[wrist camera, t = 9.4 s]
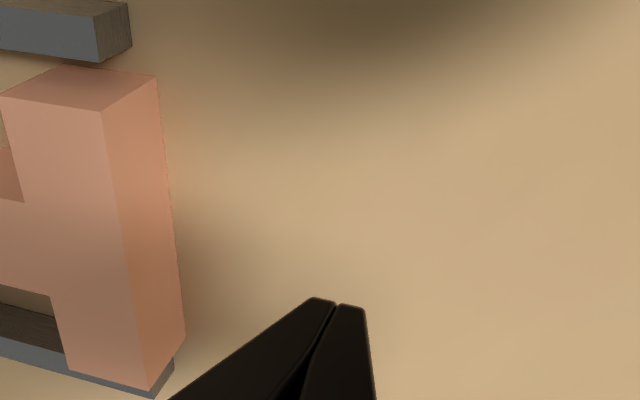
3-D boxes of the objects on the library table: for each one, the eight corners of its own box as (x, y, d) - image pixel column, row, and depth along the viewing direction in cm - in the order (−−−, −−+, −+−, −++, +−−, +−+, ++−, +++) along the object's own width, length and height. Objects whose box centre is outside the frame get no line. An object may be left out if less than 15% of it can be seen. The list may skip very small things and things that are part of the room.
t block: (156, 76, 22) (100, 112, 19) (186, 336, 29) (148, 391, 26) (-104, 40, 25) (-186, 66, 22) (-21, 285, 32) (-76, 329, 29)
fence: (126, 3, 21) (92, 17, 19) (174, 369, 30) (154, 399, 29) (-163, -31, 24) (-213, -21, 22) (-38, 312, 33) (-68, 337, 32)
